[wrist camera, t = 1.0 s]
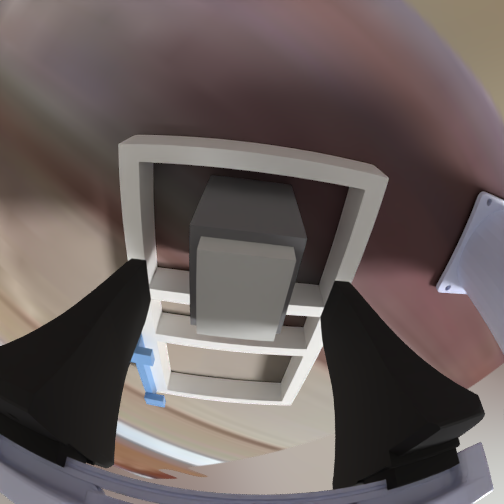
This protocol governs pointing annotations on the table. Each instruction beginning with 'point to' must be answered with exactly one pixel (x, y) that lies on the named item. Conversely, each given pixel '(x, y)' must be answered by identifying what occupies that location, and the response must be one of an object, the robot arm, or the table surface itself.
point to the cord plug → (244, 257)
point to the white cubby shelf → (177, 281)
